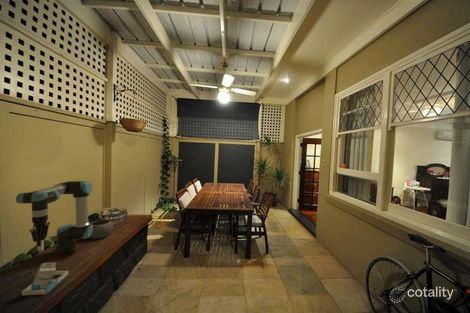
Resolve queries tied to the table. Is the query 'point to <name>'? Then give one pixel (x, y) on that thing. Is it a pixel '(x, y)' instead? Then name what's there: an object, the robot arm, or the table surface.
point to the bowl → (101, 229)
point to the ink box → (44, 276)
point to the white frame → (51, 286)
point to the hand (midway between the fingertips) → (40, 249)
